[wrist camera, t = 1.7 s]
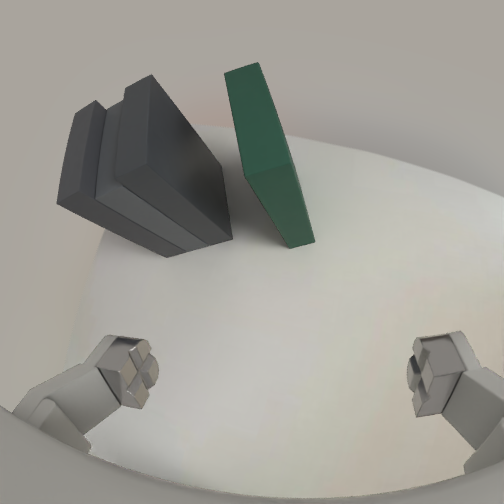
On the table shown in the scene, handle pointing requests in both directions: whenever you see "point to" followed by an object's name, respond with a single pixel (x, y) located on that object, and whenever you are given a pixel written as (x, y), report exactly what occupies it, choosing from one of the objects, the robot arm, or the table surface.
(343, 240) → the table surface
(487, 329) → the table surface
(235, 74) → the green book
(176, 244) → the grey books
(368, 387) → the table surface
